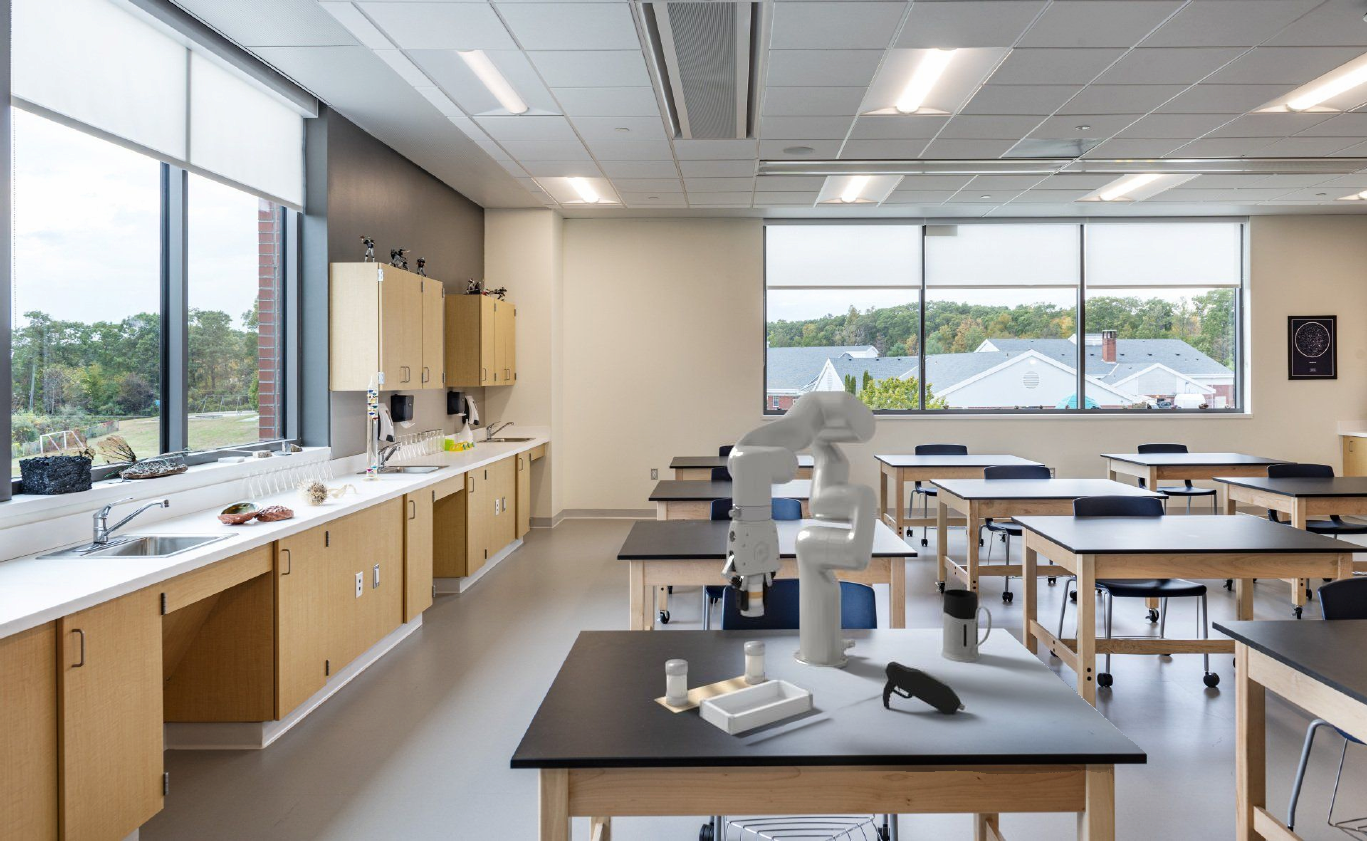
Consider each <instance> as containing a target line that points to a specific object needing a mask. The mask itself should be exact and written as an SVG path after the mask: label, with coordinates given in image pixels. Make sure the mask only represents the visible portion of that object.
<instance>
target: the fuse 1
mask: <svg viewBox="0 0 1367 841" xmlns="http://www.w3.org/2000/svg"><path fill="white" fill-rule="evenodd" d="M688 668H689V667H688V661H687V660H684V659H678V658H677V659H669V660H667V661H666V662H665V674H666V692H665V696H666V704H667V705H669V706H672V707H682V706H685V705H687V704H688V693H687V691H688V685H687V684H688V681H687V680H688V679H687V678H688V676H687V674H688V670H689V669H688Z"/></svg>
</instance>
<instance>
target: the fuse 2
mask: <svg viewBox="0 0 1367 841" xmlns="http://www.w3.org/2000/svg"><path fill="white" fill-rule="evenodd" d="M743 645H744V647H743V649H744V650H743V651H744V652H743V653H744V654H745V655H744V656H745V657H744V658H745V662H744V663H745V665H744V666H745V670H744V675H745V683H747V684H750V685H758V684H762V683H765V678H766V672H765V654H766V643H764V642H763V641H757V640H752V641H751V640H750V641H745V643H744V644H743Z"/></svg>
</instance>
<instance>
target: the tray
mask: <svg viewBox="0 0 1367 841" xmlns="http://www.w3.org/2000/svg"><path fill="white" fill-rule="evenodd" d="M812 710H814V693H812V692H809V691H807V690H805V689H803V688H801V687H799V686H796V685H795V684H792V683H790V682H787V681H786V680H783V679H782V678H777V679H773V680H771V681H769V682H765V683H762V684H758V685H754V686H751V687H747V688H744V689H740V690H736V691H733V692H729V693H726V694H722V695H718V696H715V697H711V698H707V699H704V700H700V706H699V717H700V718H702V720H703V719H704V720H705V721H707V722H709V723H710V724H712V725H714V726H716V727H717V728H718V729H720V730H722V731H724V732H726V733H727V734H728V735H731V736H733V735H736V734H739V733H743V732H745V731H746V732H747V731H749V730H751V729H756V728H758V727H761V726H764V725H767V724H771V723H774V722H778V721H780V720H784V719H787V718H790V717H793V716H797V715H799V714H802V713H805V712H808V711H812Z"/></svg>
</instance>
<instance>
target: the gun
mask: <svg viewBox="0 0 1367 841" xmlns="http://www.w3.org/2000/svg"><path fill="white" fill-rule="evenodd" d="M884 672H885V674H886V677H887V681H886V682H885V685H884V687H883V690H882V703H883V707H884V708H886V709H887V710H890V708H891V707H890V701H891V700H890V698H891V695H892V693H894V694H895V695H898V696H899V697H901V698H902V699H907V700H908V699H912V698H913V697H915V698H917V699H918V700H921V701H922V702H924V703H926V704H928V705H929V706H931V707H933V708H935V709H936V710H938V711H940V712H942V713H944V714H945V715H947V716H955V714H956V713H957V711H958V710H961V711H964V710H965V708H966V705H965V704H963V703H962V702H961V699H960V697H958V695H957V693H955V691H954V690H953V689H952V687H950V686H949V685H948V684H947V682H944V681H943V680H941V679H939V678H937V677H936V676H934V675H932V674H930V673H928V672H926V671H925V670H920V669H918V668H914V667H910V666H905V665H903V664H901V663H899V662H896V661H891V662H889V663H888V664H887V666H886V668H885V669H884ZM896 687H897V689H898V690H897V689H896ZM901 690H902V691H903V692H906V693H907V695H906V694H904V693H902V692H901Z"/></svg>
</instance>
